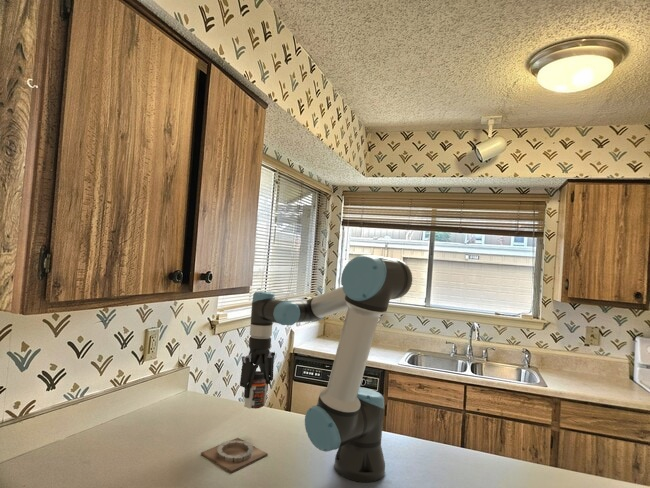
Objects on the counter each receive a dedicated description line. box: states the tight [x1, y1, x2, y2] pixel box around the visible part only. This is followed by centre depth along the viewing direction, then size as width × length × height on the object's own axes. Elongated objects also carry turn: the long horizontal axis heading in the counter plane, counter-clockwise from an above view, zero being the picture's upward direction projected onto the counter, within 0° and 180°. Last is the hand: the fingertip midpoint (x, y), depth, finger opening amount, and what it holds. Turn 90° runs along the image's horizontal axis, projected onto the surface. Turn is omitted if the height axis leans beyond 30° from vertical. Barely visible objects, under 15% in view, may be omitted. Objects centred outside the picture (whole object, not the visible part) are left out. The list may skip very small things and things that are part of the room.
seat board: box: [200, 437, 268, 474], centre depth 116 cm, size 14×14×1 cm
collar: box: [217, 440, 253, 462], centre depth 116 cm, size 11×11×1 cm
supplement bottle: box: [251, 370, 266, 410], centre depth 131 cm, size 6×6×11 cm
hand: (255, 404), depth 130 cm, fingers closed on supplement bottle, 6 cm apart
